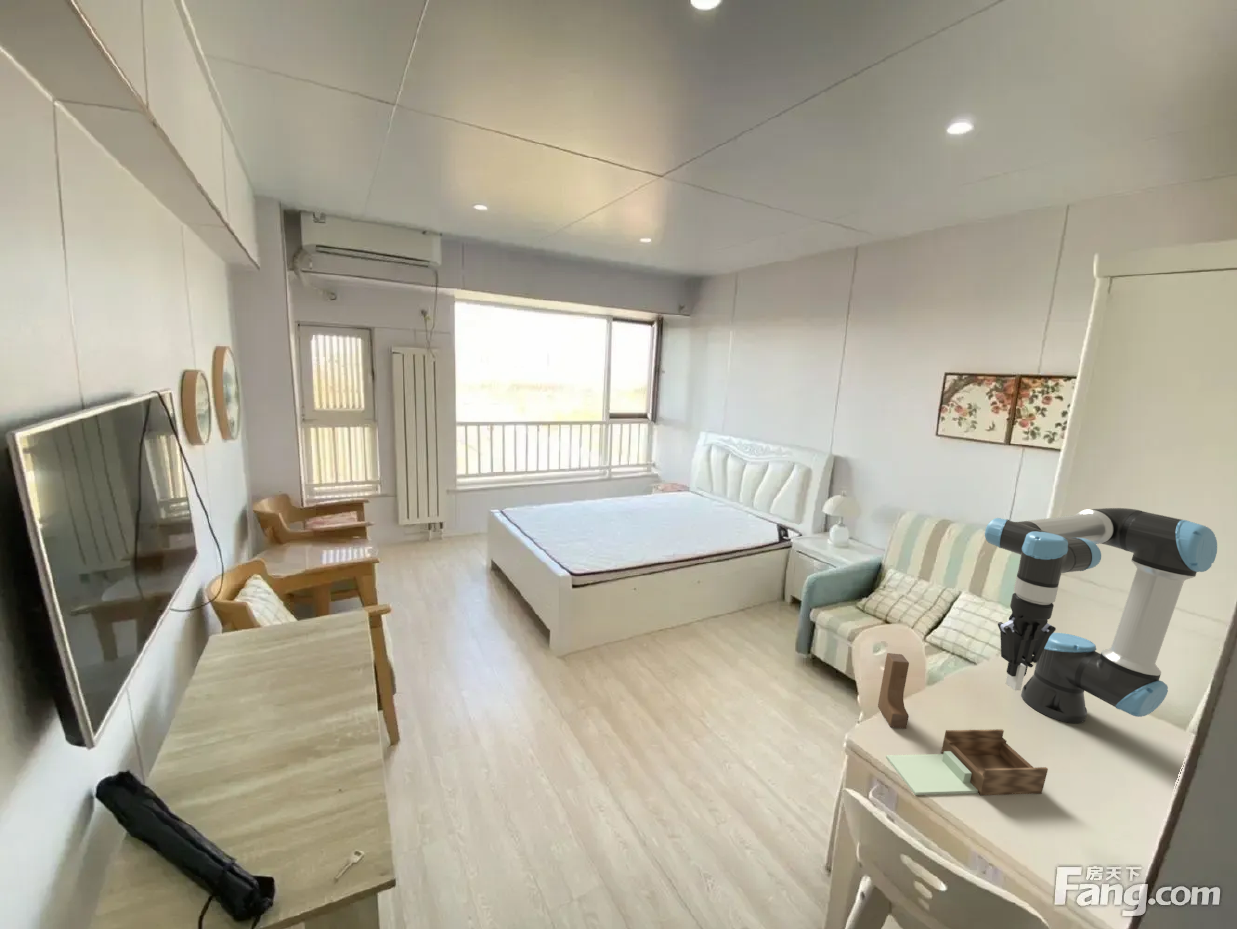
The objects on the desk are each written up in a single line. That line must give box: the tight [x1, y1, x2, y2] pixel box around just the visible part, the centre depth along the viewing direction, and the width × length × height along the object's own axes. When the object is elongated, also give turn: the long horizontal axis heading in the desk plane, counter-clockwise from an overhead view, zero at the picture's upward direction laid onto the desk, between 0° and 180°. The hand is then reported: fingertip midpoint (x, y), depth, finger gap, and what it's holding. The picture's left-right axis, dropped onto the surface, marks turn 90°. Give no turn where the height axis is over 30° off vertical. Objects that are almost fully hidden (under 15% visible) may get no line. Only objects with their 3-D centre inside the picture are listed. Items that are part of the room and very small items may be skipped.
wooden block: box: [877, 652, 910, 730], centre depth 141 cm, size 9×4×18 cm, turn 174°
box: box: [940, 728, 1049, 796], centre depth 124 cm, size 16×13×7 cm
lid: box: [885, 751, 978, 796], centre depth 123 cm, size 16×11×4 cm
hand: (1013, 686), depth 120 cm, fingers closed
